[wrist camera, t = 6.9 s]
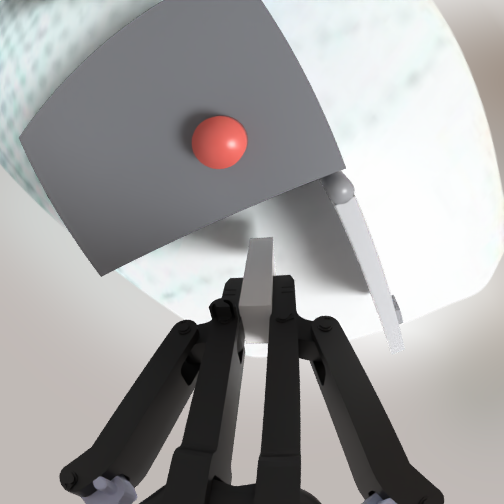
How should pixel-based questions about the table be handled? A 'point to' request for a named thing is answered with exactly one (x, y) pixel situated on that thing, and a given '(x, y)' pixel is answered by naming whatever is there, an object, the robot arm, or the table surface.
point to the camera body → (177, 128)
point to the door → (365, 255)
